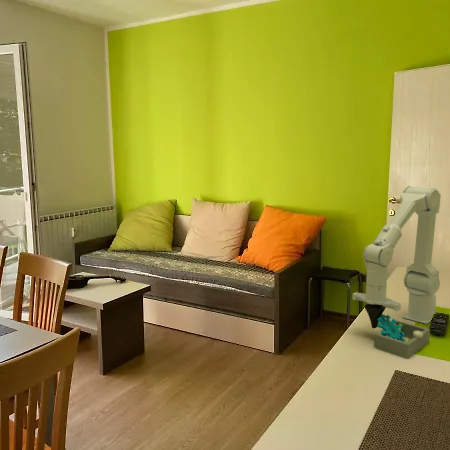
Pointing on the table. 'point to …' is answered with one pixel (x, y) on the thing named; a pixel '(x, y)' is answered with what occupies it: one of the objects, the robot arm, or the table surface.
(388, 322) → the gear
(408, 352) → the housing
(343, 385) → the table surface
